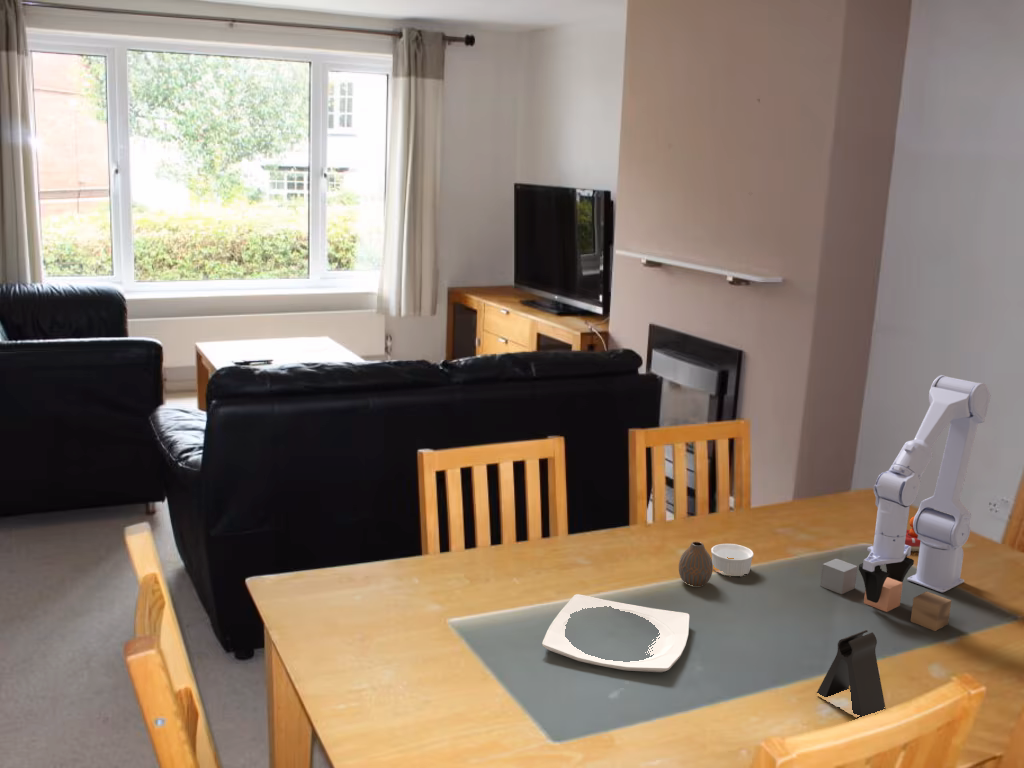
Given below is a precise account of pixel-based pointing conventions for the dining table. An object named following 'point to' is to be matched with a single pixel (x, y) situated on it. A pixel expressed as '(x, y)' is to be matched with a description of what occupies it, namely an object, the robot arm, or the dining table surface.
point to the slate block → (838, 576)
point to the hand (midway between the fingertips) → (882, 596)
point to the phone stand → (856, 674)
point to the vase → (695, 565)
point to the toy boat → (912, 538)
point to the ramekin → (732, 566)
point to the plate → (667, 622)
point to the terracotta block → (888, 595)
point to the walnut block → (930, 611)
